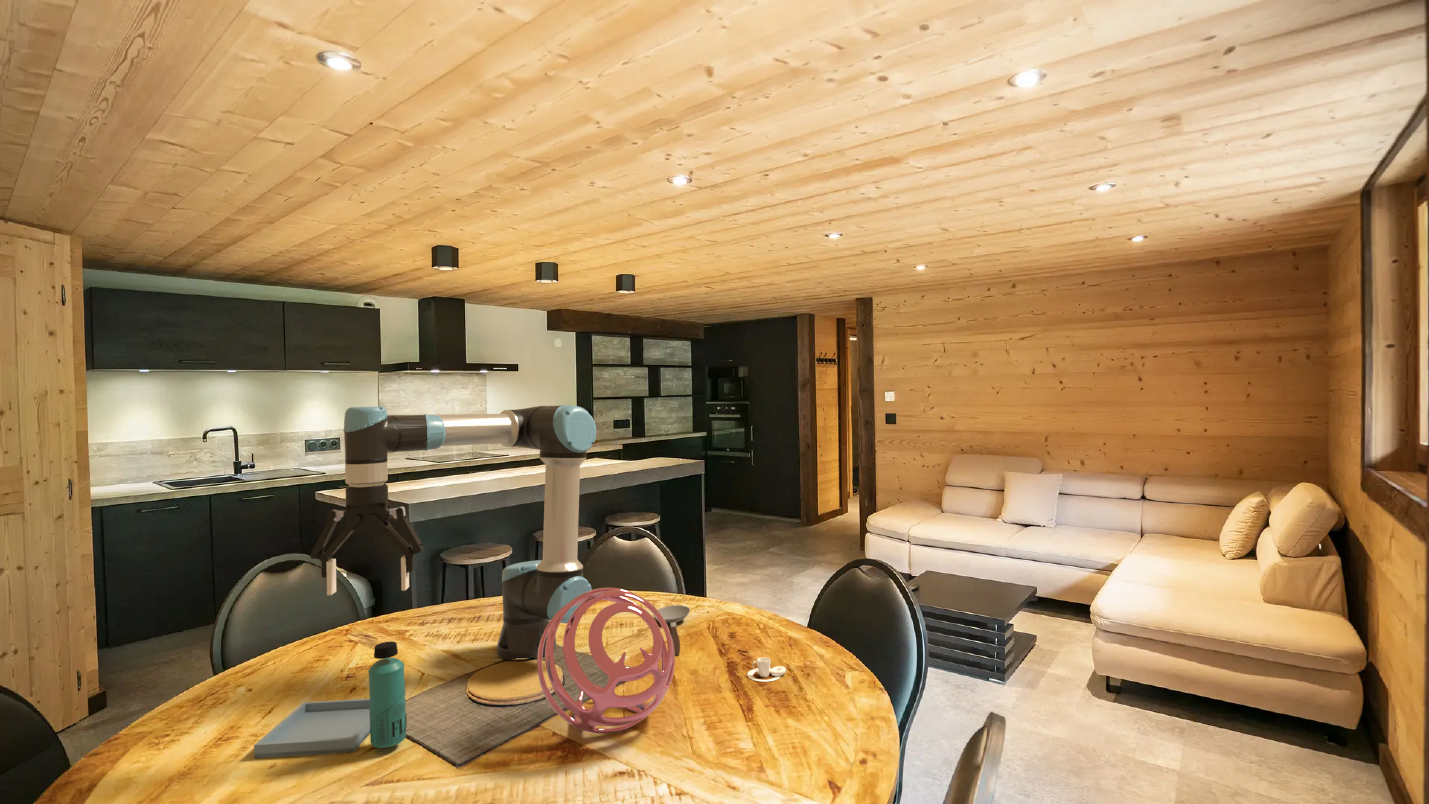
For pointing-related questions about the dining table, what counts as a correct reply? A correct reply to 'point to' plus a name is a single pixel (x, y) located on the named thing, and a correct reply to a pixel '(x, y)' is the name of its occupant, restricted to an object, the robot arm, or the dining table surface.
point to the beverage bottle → (387, 697)
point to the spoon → (674, 621)
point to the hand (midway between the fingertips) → (368, 591)
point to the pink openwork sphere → (606, 664)
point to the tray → (318, 729)
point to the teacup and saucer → (766, 670)
